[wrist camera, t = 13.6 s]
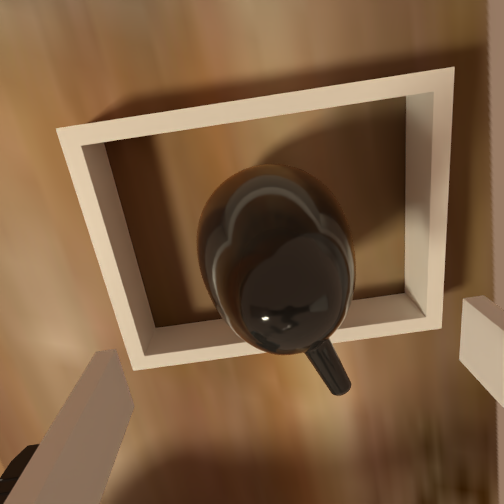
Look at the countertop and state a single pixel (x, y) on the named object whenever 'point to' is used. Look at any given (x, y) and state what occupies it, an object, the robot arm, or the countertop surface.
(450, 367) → the countertop surface
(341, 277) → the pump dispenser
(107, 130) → the box
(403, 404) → the countertop surface
